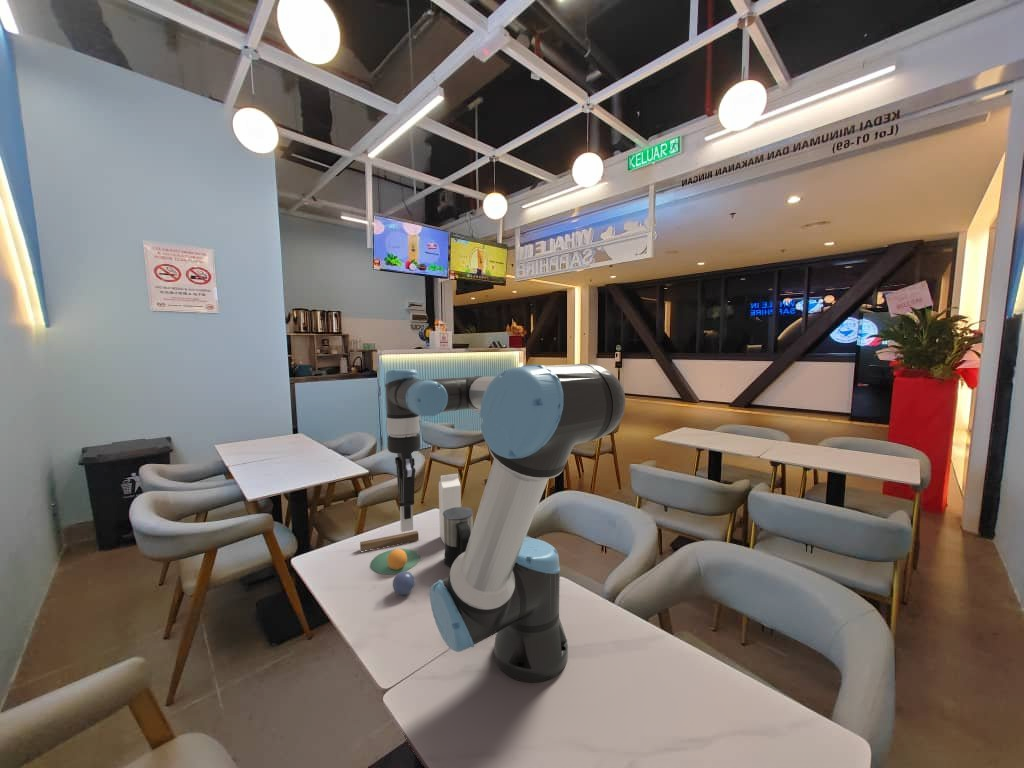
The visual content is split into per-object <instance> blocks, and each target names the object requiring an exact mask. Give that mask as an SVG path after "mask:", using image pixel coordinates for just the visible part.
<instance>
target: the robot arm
mask: <svg viewBox="0 0 1024 768" xmlns="http://www.w3.org/2000/svg"><path fill="white" fill-rule="evenodd" d="M384 379H385V383H384V388H385V403H386V407H385V409H386V433H387V434H388V436H387V439H386V440H387V451H388V452H390V453H392V454H396V455H397V456H396V457H395V458H394V463H395V466H396V468H395V469H396V481H397V493H398V494H397V497H398V501H399V502H398V503H397V504H398V507H399V515H400V516H399V517H400V531H401V533H403V532H404V533H406V532H411V531H414V519H413V518H414V517H413V516H414V515H413V514H414V513H413V512H414V511H413V510H414V509H413V505H414V504H415V479H416V478H415V477H416V468H415V458H413V455H412V453H414V452H418V451H419V450H420V449H421V435H420V433H419V432H420V430H421V429H420V428H421V427H420V424H421V423H422V421H423V420H422V418H420V416H421V417H435V416H438V415H439V414H441V413H447V412H454V411H462V410H463V411H464V410H465V411H466V410H477V411H478V410H479V418H480V419H481V420H482V423H481V424H480V429H481V433H482V436H483V439H484V441H485V443H486V444H487V449H488V450H489V453H490V455H491V456H492V458H493V461H492V463H491V464H492V465H491V467H490V470H489V474H488V478H487V480H486V484H485V487H484V490H483V493H482V497H481V500H480V503H479V505H478V509H477V513H476V516H475V518H474V521H473V528H472V531H471V535H470V538H469V541H468V544H467V548H466V551H465V552H463V553H462V554H460V555H459V556H458V557H457V558H456V559H455V561H454V562H453V564H452V567H450V570H449V573H448V576H447V577H446V578H444V579H438V580H437V581H436V582H435V583H433V584H432V585H431V587H430V591H429V602H430V608H431V611H432V616H433V619H434V623H435V625H436V627H437V630H438V632H439V634H440V636H441V638H442V640H443V641H444V643H445V644H446V645H447V646H448V648H449V649H451V650H452V651H453V652H455V653H460V652H463V651H466V650H467V649H470V648H474V647H475V646H476V645H477V644H478V643H481V642H482V641H484V640H486V639H488V638H489V637H492V636H493V635H495V634H496V635H495V638H494V639H495V640H494V658H495V662H496V664H497V666H498V667H499V669H500V670H501V671H502V672H503V673H505V675H507V676H508V677H510V678H512V679H515V680H518V681H520V682H525V683H540V682H544V681H548V680H550V679H552V678H554V677H556V676H558V675H560V673H561V672H562V671H563V669H564V668H565V667H566V665H567V662H568V657H569V651H568V650H569V648H568V647H569V646H568V639H567V636H566V634H565V630H564V627H563V625H562V622H561V618H560V581H561V580H560V572H561V567H560V561H559V559H560V558H559V552H558V551H557V549H556V547H554V546H553V545H551V544H550V543H549V542H547V541H544V540H542V539H538V538H533V537H531V538H527V537H526V535H528V533H529V529H530V526H531V524H532V522H533V518H534V516H535V514H536V511H537V509H538V506H539V505H540V502H541V499H542V496H543V493H544V491H545V489H546V486H547V483H548V481H549V479H553V478H556V477H558V476H560V474H561V473H562V472H563V471H564V469H565V467H566V465H567V463H568V460H569V458H570V455H571V453H572V451H573V448H574V447H575V446H576V445H579V444H583V443H587V442H592V441H595V440H599V439H602V438H603V437H605V436H608V434H610V433H612V432H613V431H614V430H615V429H616V427H617V426H618V425H619V424H620V423H621V420H622V418H623V416H624V414H625V409H626V395H625V394H626V393H625V391H624V388H623V386H622V384H621V382H620V380H619V379H618V378H617V376H616V375H615V374H614V373H613V372H611V371H610V370H608V369H607V368H605V367H603V366H601V365H598V364H594V363H593V364H592V363H576V364H575V363H573V364H571V363H570V364H552V365H550V364H549V365H543V364H526V365H522V366H518V367H517V366H516V367H511V368H507V369H506V370H504V371H501V372H499V373H498V374H496V376H488V375H487V376H485V375H476V376H466V377H463V376H461V377H450V378H449V377H447V378H446V377H445V378H430V379H429V378H428V379H426V378H424V379H420V377H419V373H418V371H417V370H416V369H415V368H414V369H413V368H398V369H397V368H395V369H389V370H387V371H386V373H385V378H384Z"/></svg>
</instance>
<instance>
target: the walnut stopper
mask: <svg viewBox="0 0 1024 768" xmlns="http://www.w3.org/2000/svg"><path fill="white" fill-rule="evenodd" d="M417 540H418V541H420V540H419V531H418V530H412V531H407V532H404V533H403V532H402V533H399V534H394V535H393V534H392V535H388V536H384V537H379V538H373V539H368V540H363V541H359V546H360V547H359V549H360V550H361V551H365V550H370V549H375V550H378V549H377V548H380V549H383V547H385V548H388V547H387V546H389V547H394V546H398V545H397V544H399V545H402V544H401V543H404V544H408V543H407V542H409V543H413V542H417ZM393 545H394V546H393ZM361 551H360V552H361ZM370 551H371V550H370ZM365 552H366V551H365Z"/></svg>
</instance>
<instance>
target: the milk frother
mask: <svg viewBox="0 0 1024 768" xmlns="http://www.w3.org/2000/svg"><path fill="white" fill-rule="evenodd" d="M473 515H474V510H473V509H472V508H470V507H466V506H461V507H455V508H450V509H447V510H445V511H444V512H443V516H444V540H445V544H444V557H443V562H444V565H446V566H447V567H450V568H451V567H452V564H453V562H454V561H455V559H456V558H457V557H458V556H459V555H460V554H462V553H463V552H465V551H466V548H467V544H468V541H469V538H470V535H471V531H472V528H473V525H474V521H473V519H474V517H473Z"/></svg>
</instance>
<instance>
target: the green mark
mask: <svg viewBox="0 0 1024 768" xmlns="http://www.w3.org/2000/svg"><path fill="white" fill-rule="evenodd" d="M395 549H396V548H395ZM395 549H391V550H386V551H383V552H382V553H380V554H378V555H376V556H375V557H374V558H373V559H372V560H371V562H370V569H371V570H372V571H373V572H374V573H377V574H381V575H395V574H396V575H397V574H398V573H400V572H402V571H408V570H410V569H413V567H416V565H417V564H418V563H419V560H420V556H419V555H420V554H419V553H418V552H416V551H415V550H413V549H409V548H400V549H401V550H403V551H404V552H405V553H406V555H407V562H406V564H405V565H404V567H402V568H401V569H398V570H394V569H391V568H390V567H389V565H388V563H387V558H388V555H389V554H390V553H391V552H392V551H393V550H395Z"/></svg>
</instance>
